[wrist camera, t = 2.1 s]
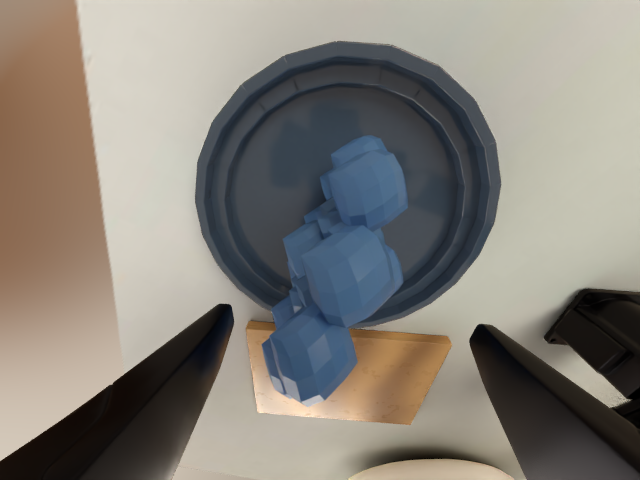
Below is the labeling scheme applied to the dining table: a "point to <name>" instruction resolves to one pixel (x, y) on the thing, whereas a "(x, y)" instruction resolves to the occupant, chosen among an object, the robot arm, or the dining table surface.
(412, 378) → the bamboo board
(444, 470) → the plate
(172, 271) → the dining table surface
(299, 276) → the grapes
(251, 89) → the round blue tray
